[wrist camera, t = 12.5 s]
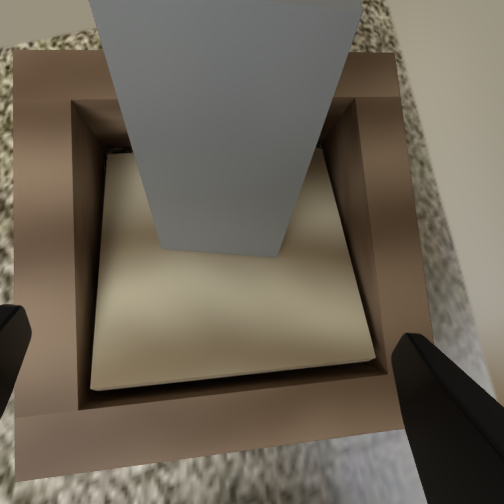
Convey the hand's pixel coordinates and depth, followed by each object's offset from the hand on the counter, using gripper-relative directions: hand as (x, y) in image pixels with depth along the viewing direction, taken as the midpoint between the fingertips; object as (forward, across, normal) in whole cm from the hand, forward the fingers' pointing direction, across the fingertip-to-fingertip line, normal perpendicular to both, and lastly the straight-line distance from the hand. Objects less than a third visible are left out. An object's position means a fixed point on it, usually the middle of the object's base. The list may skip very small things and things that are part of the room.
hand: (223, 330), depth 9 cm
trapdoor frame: (+12, 0, +7) cm, 14 cm away
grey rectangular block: (+12, 0, +3) cm, 12 cm away
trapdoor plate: (+10, 0, +5) cm, 12 cm away
